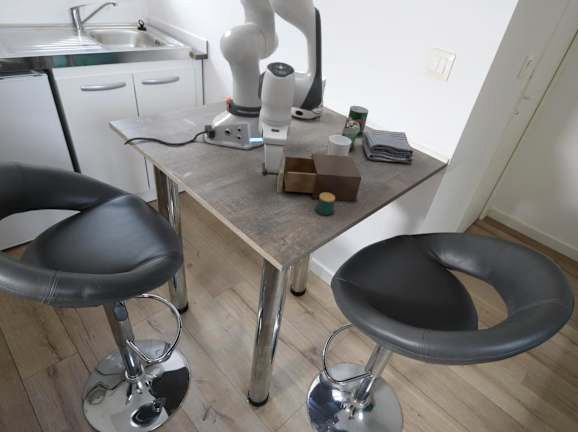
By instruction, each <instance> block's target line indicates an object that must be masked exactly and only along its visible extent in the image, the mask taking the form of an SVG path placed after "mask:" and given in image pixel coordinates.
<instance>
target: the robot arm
mask: <svg viewBox="0 0 578 432" xmlns="http://www.w3.org/2000/svg"><path fill="white" fill-rule="evenodd" d="M239 2H240V4H241V5H242V7H243V13H244V23H243V24H241V25H240V24H239V25H235V26H232V27H230V28H228V29H227V30H225V31H224V32H223V33H222V34H221V36H220V38H219V49H220V53H221V55H222V56H223V58H224V59H225V61H227V63H228V65H229V68H230V71H231V78H232V97H227V98H226V100H225V101H226V110H224V111H222V112H221V113H219V114H217V115H216V116H214V118H213V119H212V122H211V124H207V125H205V124H204V131H200V132H198V133H196V134H195V135H194V137H193V138H192V139H191V140H189V141H186V142H178V143H177V142H176V143H175V142H174V143H173V142H167V141H164V140H161V139H159V138H153V137H142V136H141V137H140V136H139V137H132V138H130V139H128V140H126V141H125V142H124V143H123V145H124V146H125V145H128V144H129V143H131V142H133V141H136V140H137V141H138V140H139V141H142V140H143V141H155V142H158V143H161V144H164V145H166V146H184V145H187V144H190V143H191V144H192V143H193V142H195V141H196V139H198V137H199V136H201V135H203V134H204V141H205V142H206V143H207V144H211V145H216V146H223V147H227V148H228V147H229V148H234V149H241V150H250V149H252V148H255V147H259V146H261V145H263V146H264V147H263V148H264V162H265V168H266V170H267V172H276V171H278V169H279V167H280V163H281V158H282V159H283V153H284V149H285V146H286V145H287V142H288V137H289V135H290V133H291V132H290V131H291V124H292V118H293V116H292V115H291V108H292V107H295V108H299V109H303V110H307V111H311V110H313V109H315V108H317V107H318V106H319V105H320V104H321V102H322V99H323V100H324V95H323V82H322V76H323V56H322V55H323V54H322V53H323V52H322V51H323V50H322V47H323V46H322V45H323V43H322V42H323V41H322V40H323V39H322V35H323V34H322V18H321V13H320V10H319V9H318V8H317V7H316V6H315V4H314V1H313V0H239ZM276 15H277V16H278V17H279V18H281V19H282V20H284V21H285V22H286V23H288V24H290V25H292V26H293V27H295V28H296V29H297V30H298V31H300V32H301V33H302V34H303V36H304V37H305V40H306V48H307V49H306V50H307V52H306V54H307V56H306V57H307V70H306V71H307V72H306V73H299V72H296V71H295V70H296V69H294V68H295V67H293V66H292V65H290V64H288V63H286V62H280V61H276V62H270V63H269V64H267V65H266V66H265V70H264V71H263V72H262V73H261V70H260V61H261V60H265V59H268V58H270V57H271V56H272V55H273V54H275V52H276V51H277V49H278V47H279V41H280V39H279V35H278V33H277V31H276Z"/></svg>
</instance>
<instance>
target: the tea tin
mask: <svg viewBox="0 0 578 432" xmlns="http://www.w3.org/2000/svg"><path fill="white" fill-rule="evenodd" d="M335 201H336V200H335V196H334V195H333V194H331V193H327V192H323V193H321V194H320V195H319V198H318V203H317V207H316V212H317V213H318V214H319V215H323V216H329V215H331V214H332V213H333V210H334V205H335Z"/></svg>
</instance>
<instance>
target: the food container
mask: <svg viewBox="0 0 578 432" xmlns="http://www.w3.org/2000/svg"><path fill="white" fill-rule="evenodd" d="M359 132H360V126H359V123H358V122H356V121H354V120H352V119H348V117H346V120H345V124H344V127H343V128H342V133H341V136H345V137H347V138H349V139H350V140H351V146H350V149H349V152H351V151H353V149H354V145H355V142H356V139H357V137H356V136H357V133H359Z"/></svg>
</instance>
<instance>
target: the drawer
mask: <svg viewBox="0 0 578 432" xmlns="http://www.w3.org/2000/svg"><path fill="white" fill-rule="evenodd" d="M283 162H284V163H283ZM261 174H262V176H263V177H266V176H268V175H269V176H275V178H276V192H277V193H279V194H280V193H282V190H283V182H284V191H285V192H294V193H308V194H309V193H310V194H312V193H313V192H314V186H315V181H316V175H317V174H316V170H315V166H314V162H313V158H311V157H307V156H306V157H305V156H295V155H285V156H284V161H283V157H282V158H281V163H280V167H279V169H278V171H267V170H266V168H265V161H264V162H262V164H261Z"/></svg>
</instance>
